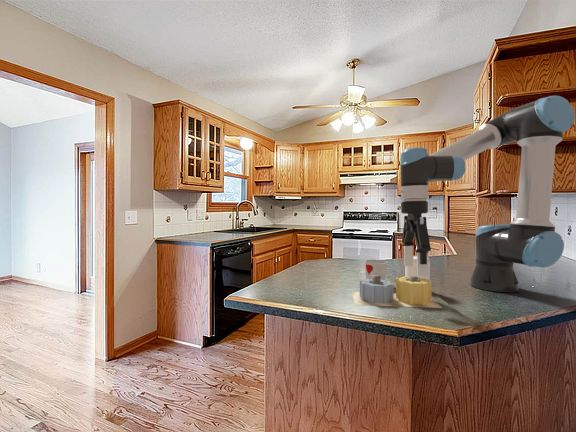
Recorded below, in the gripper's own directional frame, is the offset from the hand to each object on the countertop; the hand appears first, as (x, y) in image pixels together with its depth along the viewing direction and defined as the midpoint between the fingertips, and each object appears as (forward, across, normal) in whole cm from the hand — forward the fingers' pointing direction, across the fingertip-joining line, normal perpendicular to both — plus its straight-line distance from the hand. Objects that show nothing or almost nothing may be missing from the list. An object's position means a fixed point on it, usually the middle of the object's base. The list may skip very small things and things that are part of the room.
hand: (415, 270), depth 94 cm
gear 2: (+9, 0, -1) cm, 9 cm away
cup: (+10, -18, -9) cm, 22 cm away
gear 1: (+9, 0, -12) cm, 15 cm away
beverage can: (+11, -16, +5) cm, 20 cm away
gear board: (+10, 0, -7) cm, 12 cm away
